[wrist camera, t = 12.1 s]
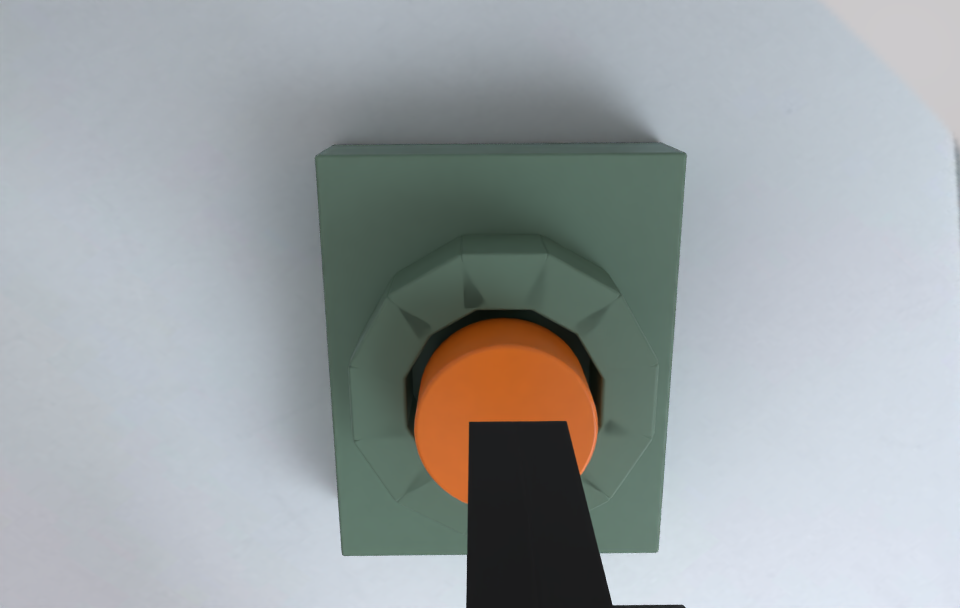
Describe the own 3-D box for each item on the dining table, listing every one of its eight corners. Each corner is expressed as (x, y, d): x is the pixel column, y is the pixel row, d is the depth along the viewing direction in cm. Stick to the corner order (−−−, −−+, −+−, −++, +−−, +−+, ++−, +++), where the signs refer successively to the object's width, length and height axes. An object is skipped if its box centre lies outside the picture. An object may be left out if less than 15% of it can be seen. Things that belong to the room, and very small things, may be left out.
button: (417, 317, 16) (410, 346, 15) (589, 315, 16) (602, 344, 15) (422, 470, 17) (416, 514, 16) (583, 469, 17) (595, 512, 16)
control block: (331, 144, 19) (295, 165, 15) (664, 142, 19) (712, 162, 15) (353, 509, 22) (328, 604, 18) (641, 506, 22) (677, 600, 18)
